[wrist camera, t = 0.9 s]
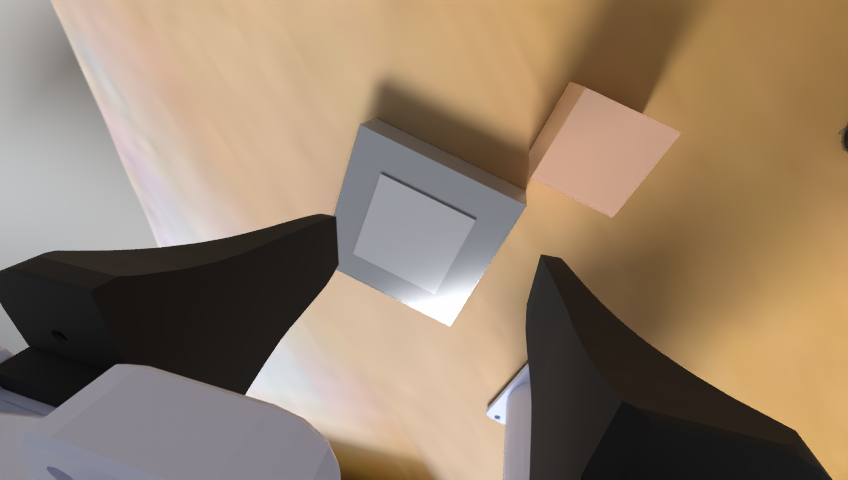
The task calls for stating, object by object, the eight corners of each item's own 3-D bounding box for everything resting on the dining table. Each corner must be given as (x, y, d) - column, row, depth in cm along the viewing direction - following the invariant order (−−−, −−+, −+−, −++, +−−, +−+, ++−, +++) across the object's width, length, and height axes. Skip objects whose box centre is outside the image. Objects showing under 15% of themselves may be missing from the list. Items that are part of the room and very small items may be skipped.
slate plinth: (525, 190, 20) (526, 206, 18) (456, 304, 25) (449, 327, 23) (376, 118, 20) (358, 125, 18) (337, 245, 26) (319, 262, 23)
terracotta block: (641, 115, 17) (681, 132, 13) (591, 183, 19) (612, 217, 15) (569, 81, 17) (585, 87, 13) (528, 152, 19) (530, 178, 15)
